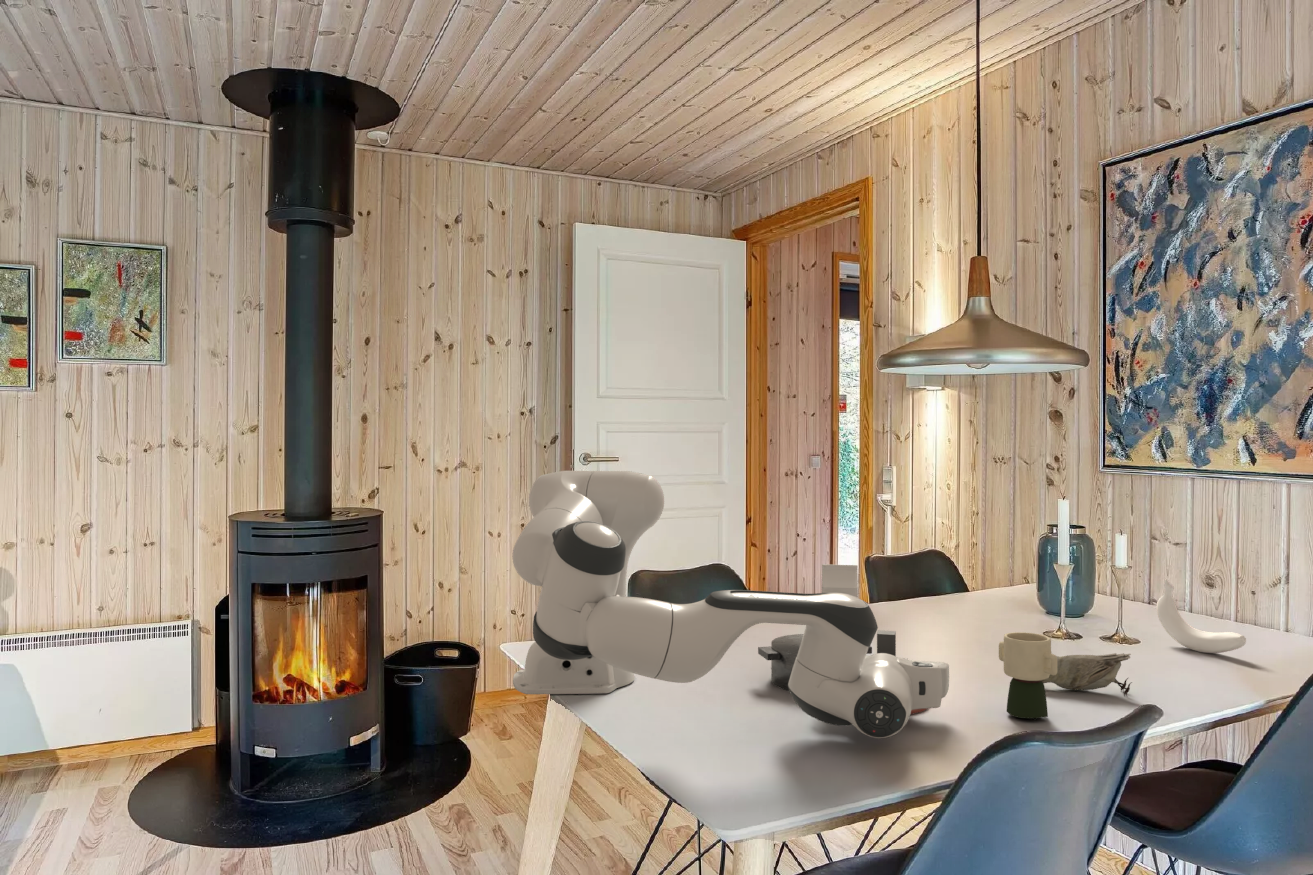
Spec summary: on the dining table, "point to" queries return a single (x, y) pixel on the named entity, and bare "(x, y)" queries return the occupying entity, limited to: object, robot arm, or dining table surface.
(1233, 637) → the banana
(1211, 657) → the dining table surface
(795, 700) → the robot arm
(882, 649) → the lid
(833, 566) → the milk carton
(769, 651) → the pot
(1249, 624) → the dining table surface
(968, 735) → the dining table surface
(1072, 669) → the decorative bird
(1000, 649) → the character mug
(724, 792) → the dining table surface
